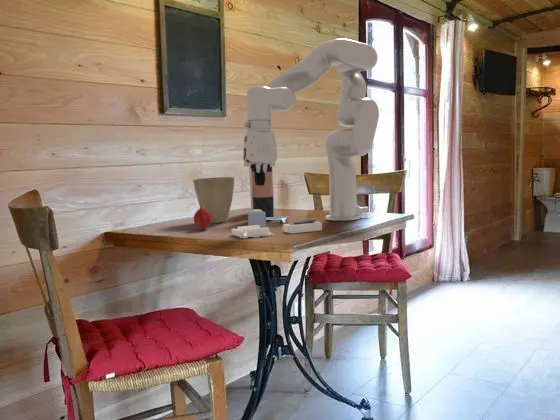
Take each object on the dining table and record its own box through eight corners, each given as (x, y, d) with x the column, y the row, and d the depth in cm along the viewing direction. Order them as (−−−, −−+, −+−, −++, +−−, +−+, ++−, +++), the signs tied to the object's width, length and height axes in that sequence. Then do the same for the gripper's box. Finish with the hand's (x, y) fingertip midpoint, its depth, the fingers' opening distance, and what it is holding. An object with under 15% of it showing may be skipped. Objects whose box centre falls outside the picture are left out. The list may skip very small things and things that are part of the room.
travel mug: (271, 221, 206) (269, 165, 204) (251, 221, 208) (248, 165, 206) (276, 218, 214) (274, 164, 212) (256, 218, 215) (254, 165, 213)
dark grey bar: (308, 228, 187) (307, 219, 186) (315, 229, 185) (315, 219, 185) (291, 232, 179) (291, 222, 179) (299, 233, 178) (299, 223, 177)
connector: (260, 229, 188) (259, 208, 187) (266, 230, 184) (265, 210, 183) (248, 230, 186) (247, 209, 186) (254, 232, 182) (253, 211, 181)
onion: (192, 229, 193) (191, 205, 192) (209, 227, 195) (207, 204, 194) (197, 231, 187) (195, 206, 186) (214, 229, 189) (212, 205, 189)
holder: (262, 232, 180) (261, 224, 180) (272, 235, 173) (272, 227, 173) (231, 235, 176) (231, 227, 176) (241, 238, 169) (241, 230, 169)
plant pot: (232, 218, 220) (230, 176, 218) (240, 222, 205) (238, 177, 204) (192, 221, 216) (190, 178, 214) (198, 225, 201) (195, 180, 200)
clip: (315, 228, 184) (315, 221, 184) (322, 230, 180) (321, 222, 180) (284, 231, 179) (284, 224, 179) (290, 233, 176) (289, 225, 175)
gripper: (243, 125, 175) (243, 186, 176) (285, 126, 182) (286, 185, 184) (232, 126, 181) (233, 185, 183) (274, 128, 189) (274, 184, 190)
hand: (259, 185), depth 183 cm, fingers closed
